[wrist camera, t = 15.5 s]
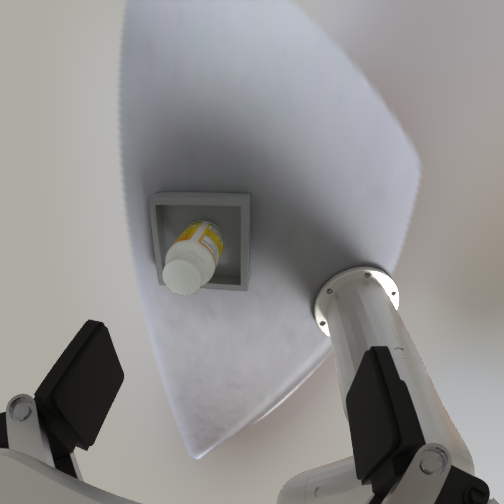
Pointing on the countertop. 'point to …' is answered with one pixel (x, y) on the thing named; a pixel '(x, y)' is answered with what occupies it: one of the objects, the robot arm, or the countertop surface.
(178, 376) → the countertop surface
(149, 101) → the countertop surface
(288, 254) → the countertop surface
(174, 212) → the tray
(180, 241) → the supplement bottle
